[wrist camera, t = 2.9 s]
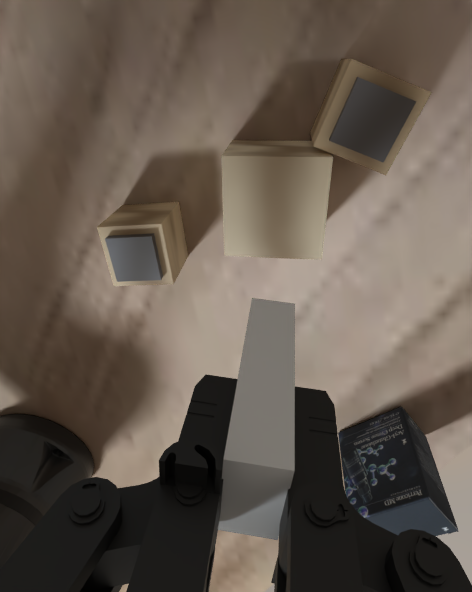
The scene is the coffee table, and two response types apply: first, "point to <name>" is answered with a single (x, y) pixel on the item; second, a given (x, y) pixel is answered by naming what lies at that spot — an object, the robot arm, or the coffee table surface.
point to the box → (394, 475)
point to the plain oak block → (275, 198)
